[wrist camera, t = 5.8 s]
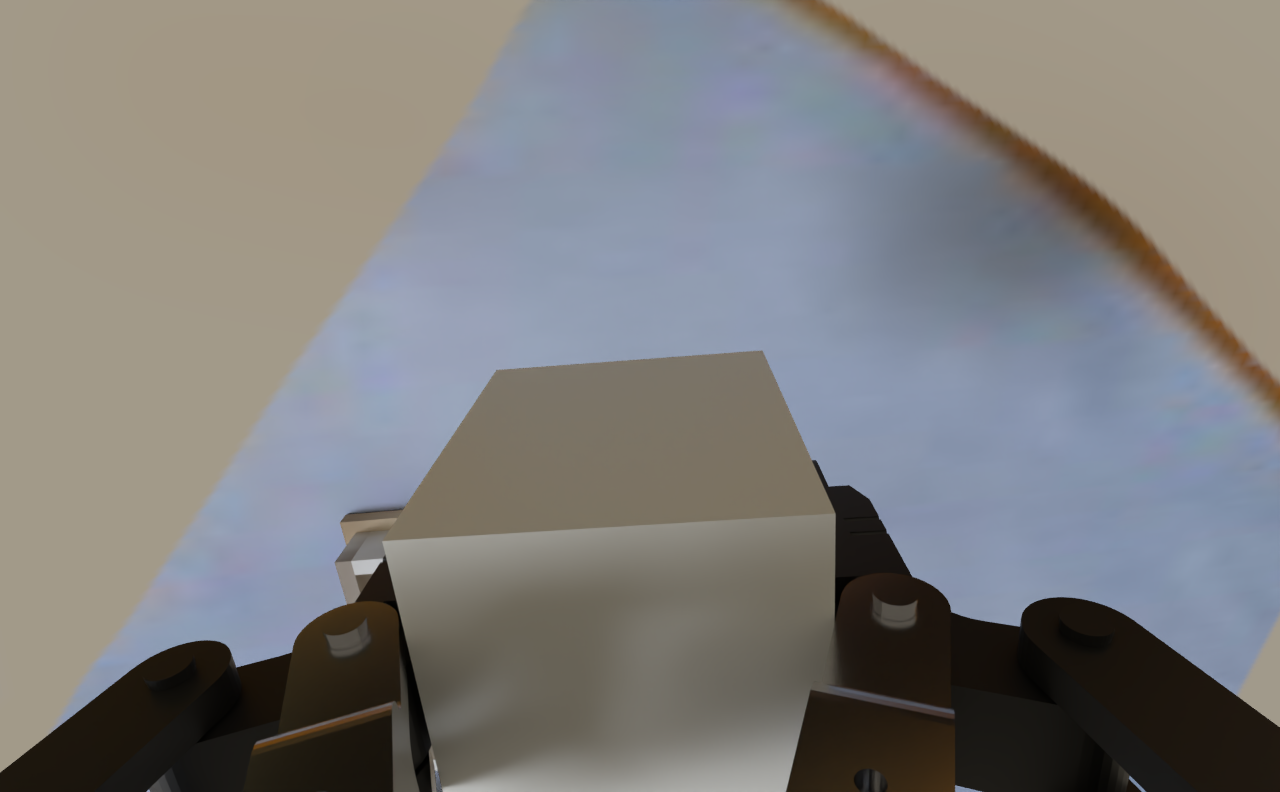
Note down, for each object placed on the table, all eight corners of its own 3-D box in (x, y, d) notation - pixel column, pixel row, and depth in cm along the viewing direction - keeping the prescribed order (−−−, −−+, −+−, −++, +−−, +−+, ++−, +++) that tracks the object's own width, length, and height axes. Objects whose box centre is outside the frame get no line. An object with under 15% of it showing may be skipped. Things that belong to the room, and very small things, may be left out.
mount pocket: (630, 490, 28) (628, 526, 25) (657, 715, 32) (658, 765, 29) (345, 514, 28) (317, 551, 26) (407, 733, 32) (388, 782, 30)
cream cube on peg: (762, 350, 13) (834, 513, 8) (770, 655, 16) (830, 947, 10) (496, 370, 14) (382, 541, 8) (545, 667, 16) (482, 958, 10)
